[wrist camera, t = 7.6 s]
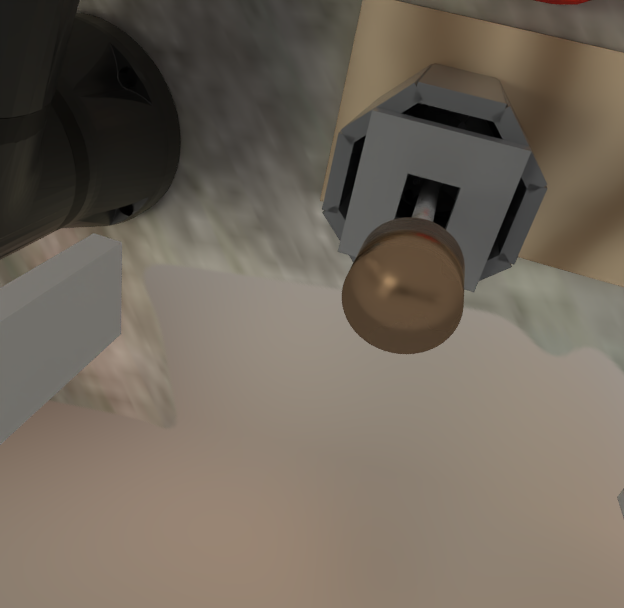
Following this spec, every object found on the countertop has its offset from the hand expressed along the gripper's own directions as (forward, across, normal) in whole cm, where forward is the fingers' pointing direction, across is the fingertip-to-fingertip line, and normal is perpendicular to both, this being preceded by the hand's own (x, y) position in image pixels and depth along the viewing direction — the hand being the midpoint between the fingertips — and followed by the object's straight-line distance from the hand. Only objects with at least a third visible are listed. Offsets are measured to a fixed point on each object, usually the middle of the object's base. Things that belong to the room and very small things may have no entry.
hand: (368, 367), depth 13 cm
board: (+27, +5, +1) cm, 27 cm away
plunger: (+23, +1, 0) cm, 23 cm away
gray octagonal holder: (+25, +1, -1) cm, 25 cm away
